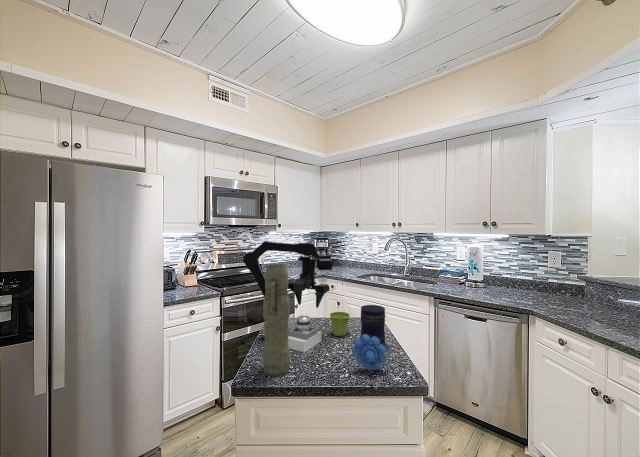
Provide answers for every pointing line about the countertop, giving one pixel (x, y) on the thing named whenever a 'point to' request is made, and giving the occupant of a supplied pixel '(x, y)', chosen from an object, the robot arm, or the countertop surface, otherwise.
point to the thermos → (276, 321)
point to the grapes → (369, 352)
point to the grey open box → (303, 339)
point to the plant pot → (339, 322)
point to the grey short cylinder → (303, 324)
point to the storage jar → (373, 322)
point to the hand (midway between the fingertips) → (308, 306)
